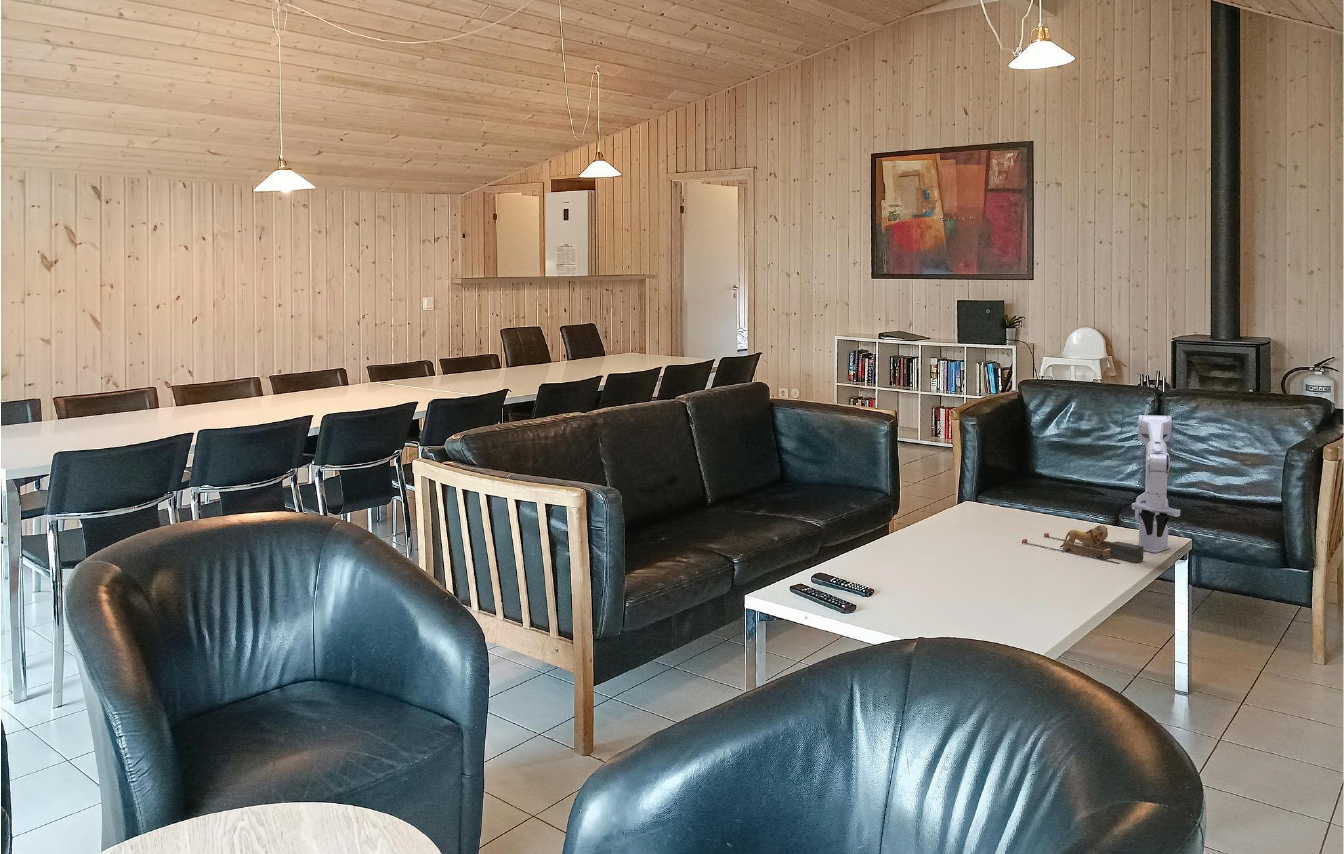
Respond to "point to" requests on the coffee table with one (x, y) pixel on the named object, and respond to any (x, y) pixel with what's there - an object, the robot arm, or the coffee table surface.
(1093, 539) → the lion figurine
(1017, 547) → the coffee table surface
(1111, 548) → the cart
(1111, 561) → the rail track
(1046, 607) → the coffee table surface
